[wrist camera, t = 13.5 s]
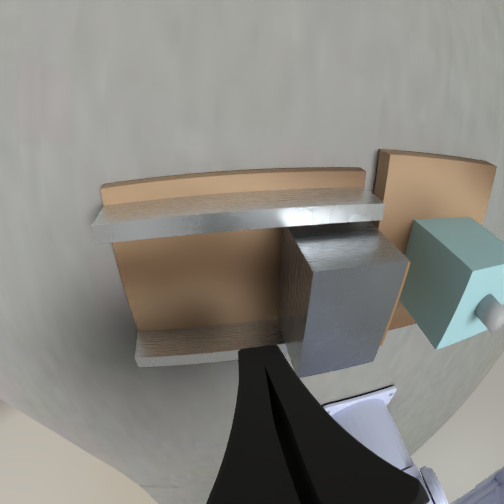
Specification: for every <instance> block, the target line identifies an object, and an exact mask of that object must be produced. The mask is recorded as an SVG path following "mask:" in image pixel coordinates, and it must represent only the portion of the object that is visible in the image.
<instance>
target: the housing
mask: <svg viewBox="0 0 504 504" xmlns="http://www.w3.org/2000/svg"><path fill="white" fill-rule="evenodd" d="M405 256H406V257H407V258H408V259H409V261H410V262H411V263H410V266H409V269H408V273H407V276H406V279H405V282H404V285H403V288H402V291H401V294H400V297H399V301H400V302H401V303H402V304H403V306H404V307H405V308H406V310H407V311H408V312H409V314H410V315H411V316H412V318H413V319H414V320H415V322H416V323H417V324H418V326H419V327H420V329H421V330H422V331H423V333H424V334H425V335H426V337H427V338H428V340H429V341H430V342H431V344H432V345H433V347H434V348H435V349H436V350H437V349H440V348H443V347H445V346H448V345H451V344H453V343H456V342H458V341H461V340H464V339H466V338H469V337H471V336H473V335H476V334H478V333H481V332H483V331H485V330H489V331H490V333H492V334H493V333H495V332H497V331H498V330H499V329H500V328H501V327H502V326H503V325H504V307H503V304H504V242H503V241H501V240H500V239H499V238H497V237H496V236H495V235H494V234H492V233H491V232H490V231H488V230H487V229H486V228H484V227H483V226H482V225H480V224H479V223H478V222H476V221H475V220H474V219H472V218H471V217H456V218H434V219H415V220H414V221H413V225H412V229H411V233H410V237H409V241H408V245H407V249H406V253H405Z"/></svg>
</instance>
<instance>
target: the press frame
mask: <svg viewBox="0 0 504 504" xmlns="http://www.w3.org/2000/svg"><path fill="white" fill-rule="evenodd" d="M496 167H497V166H495V165H493V164H491V163H489V162H487V161H482V160H475V159H469V158H462V157H455V156H447V155H439V154H430V153H420V152H410V151H398V150H384V149H379V158H378V166H377V174H376V181H375V188H374V194H372V193H371V192H370V191H369V190H367V189H366V188H365V187H364V185H365V177H366V171H365V170H363V169H361V168H279V169H255V170H237V171H221V172H208V173H196V174H185V175H175V176H165V177H156V178H147V179H139V180H131V181H123V182H116V183H109V184H104V185H103V186H102V187H101V189H100V190H101V195H102V200H103V205H104V206H103V208H102V209H101V211H100V212H99V214H98V216H97V217H96V219H95V220H94V222H93V224H92V225H91V228H92V232H93V236H94V240H95V244H103V243H112V245H113V249H114V253H115V257H116V261H117V264H118V268H119V272H120V275H121V279H122V282H123V286H124V289H125V293H126V296H127V299H128V302H129V306H130V309H131V312H132V315H133V318H134V321H135V324H136V327H137V330H138V334H137V342H136V350H135V361H136V363H137V365H138V367H158V366H174V365H188V364H200V363H210V362H220V361H230V360H238V351H239V350H240V349H245V348H253V347H261V346H268V345H277V346H279V348H280V350H281V352H282V353H288V350H287V347H286V344H285V341H284V338H283V335H282V332H281V329H280V326H279V323H278V306H279V290H280V273H281V255H282V235H283V227H288V226H302V225H316V224H330V223H345V222H361V221H370V222H371V223H372V224H373V225H374V226H375V227H376V228H377V229H379V230H380V231H381V232H382V233H383V234H384V235H385V236H386V237H387V238H388V239H389V240H390V241H391V242H392V243H393V244H394V245H395V246H396V247H397V248H398V249H399V250H400V251H401V252H402V253H403V254H404V255H405V253H406V249H407V245H408V241H409V237H410V233H411V229H412V225H413V221H414V220H415V219H434V218H456V217H471V218H472V219H474V220H475V221H476V222H478V223H479V224H480V225H482V223H483V220H484V216H485V213H486V209H487V205H488V202H489V198H490V194H491V190H492V186H493V181H494V177H495V172H496ZM412 324H416V322H415V320H414V319H413V318H412V316H411V315H410V314H409V312H408V311H407V310H406V308H405V307H404V306H403V304H402V303H401V302H400V301H399V300H398V303H397V306H396V309H395V312H394V315H393V317H392V320H391V323H390V325H389V328H388V330H392V329H396V328H400V327H404V326H408V325H412Z"/></svg>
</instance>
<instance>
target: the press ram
mask: <svg viewBox="0 0 504 504" xmlns="http://www.w3.org/2000/svg"><path fill="white" fill-rule="evenodd" d="M410 263H411V262H410V261H409V259H408V258H407V257H406V256H405V255H404V254H403V253H402V252H401V251H400V250H399V249H398V248H397V247H396V246H395V245H394V244H393V243H392V242H391V241H390V240H389V239H388V238H387V237H386V236H385V235H384V234H383V233H382V232H381V231H380V230H379V229H377V228H376V227H375V226H374V225H373V224H372V223H371V222H370V221H361V222H345V223H330V224H316V225H302V226H288V227H283V235H282V255H281V273H280V290H279V306H278V323H279V326H280V329H281V332H282V335H283V338H284V341H285V344H286V347H287V350H288V353H289V356H290V359H291V362H292V365H293V368H294V371H295V373H296V375H297V376H298V377H299V378H301V377H306V376H312V375H317V374H321V373H326V372H331V371H335V370H340V369H344V368H348V367H353V366H357V365H361V364H365V363H369V362H372V361H373V360H374V358H375V356H376V353H377V351H378V348H379V346H381V345H382V343H383V341H384V338H385V336H386V333H387V331H388V328H389V325H390V323H391V320H392V317H393V315H394V312H395V309H396V306H397V303H398V300H399V297H400V294H401V291H402V288H403V285H404V282H405V279H406V276H407V273H408V269H409V266H410Z"/></svg>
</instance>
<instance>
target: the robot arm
mask: <svg viewBox="0 0 504 504" xmlns="http://www.w3.org/2000/svg"><path fill="white" fill-rule="evenodd" d="M238 364H239V386H238V395H237V403H236V409H235V414H234V419H233V424H232V429H231V433H230V437H229V441H228V444H227V448H226V451H225V455H224V458H223V461H222V464H221V467H220V470H219V473H218V476H217V479H216V481H215V484H214V486H213V489H212V491H211V493H210V496H209V498H208V501H207V503H206V504H449V503H448V501H447V498H446V496H445V493H444V491H443V489H442V487H441V484H440V482H439V480H438V478H437V476H436V475H435V473H434V471H433V470H432V469H431V468H426V467H425V466H424V467H422V468H420V472H421V474H422V477H421V475H420V473H419V471H418V468H417V466H416V465H414V463H413V461H412V458H411V456H410V454H409V452H408V450H407V448H406V446H405V444H404V441H403V439H402V437H401V435H400V433H399V431H398V429H397V427H396V425H395V423H394V421H393V419H392V417H391V415H390V413H389V411H388V409H387V407H386V406H387V405H388V403H389V402H390V400H391V398H392V397H393V395H394V393H395V392H396V390H397V389H396V387H395V386H392V387H389V388H386V389H382V390H379V391H376V392H373V393H369V394H366V395H362V396H359V397H355V398H352V399H348V400H344V401H340V402H336V403H332V404H328V405H325V406H324V407H322V406H321V405H320V404H319V403H318V401H317V400H316V399H315V398H314V397H313V395H312V394H311V393H310V392H309V390H308V389H307V388H306V387H305V385H304V384H303V383H302V382H301V380H300V379H299V377H298V376H297V375H296V373H295V372H294V370H293V369H292V367H291V366H290V364H289V363H288V361H287V360H286V358H285V357H284V355H283V353H282V352H281V350H280V348H279V346H277V345H268V346H261V347H253V348H245V349H240V350H239V351H238ZM422 478H423V479H422ZM423 480H424V481H423ZM424 483H425V484H424ZM425 485H426V486H425ZM451 504H504V467H502V468H501V469H499V470H497V471H496V472H495V473H493V474H492V475H490V476H489V477H488V478H486V479H485V480H484V481H482V482H481V483H479V484H478V485H477V486H476V487H475V488H474V489H472V490H471V491H470V492H468V493H467V494H465V495H464V496H462V497H460V498H459V499H457V500H456V501H454V502H452V503H451Z"/></svg>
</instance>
